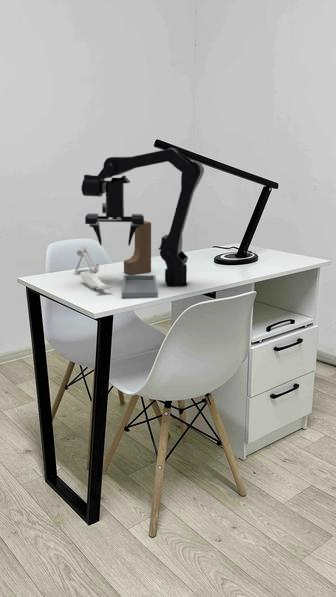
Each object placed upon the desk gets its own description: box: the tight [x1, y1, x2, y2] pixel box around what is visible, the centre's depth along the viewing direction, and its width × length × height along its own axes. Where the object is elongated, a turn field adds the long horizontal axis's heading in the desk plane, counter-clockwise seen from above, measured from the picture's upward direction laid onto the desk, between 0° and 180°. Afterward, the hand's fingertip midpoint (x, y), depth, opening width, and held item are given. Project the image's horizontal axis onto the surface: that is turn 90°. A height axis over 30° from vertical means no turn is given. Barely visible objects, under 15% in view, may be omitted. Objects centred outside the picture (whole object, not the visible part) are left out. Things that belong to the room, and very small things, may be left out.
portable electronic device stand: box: [75, 245, 100, 274], centre depth 201 cm, size 9×8×8 cm
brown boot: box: [123, 220, 152, 275], centre depth 198 cm, size 9×4×18 cm, turn 124°
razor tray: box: [121, 274, 159, 300], centre depth 176 cm, size 11×23×2 cm, turn 3°
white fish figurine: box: [79, 271, 114, 290], centre depth 177 cm, size 6×18×4 cm, turn 28°
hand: (115, 245), depth 183 cm, fingers open, 9 cm apart
